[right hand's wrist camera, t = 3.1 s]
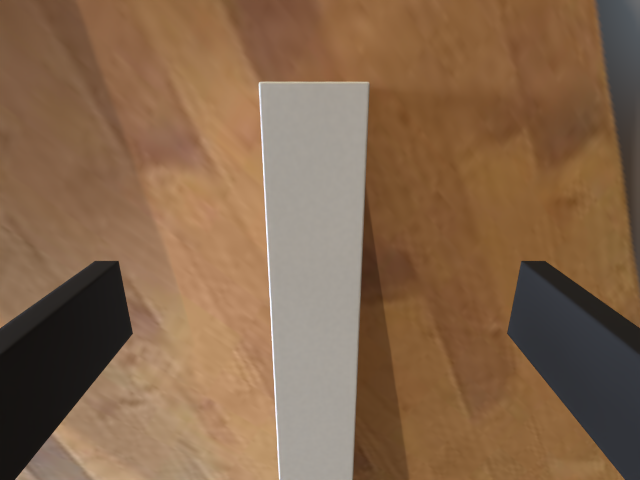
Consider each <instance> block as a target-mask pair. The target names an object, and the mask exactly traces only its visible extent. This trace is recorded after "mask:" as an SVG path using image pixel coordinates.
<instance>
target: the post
mask: <svg viewBox="0 0 640 480" xmlns="http://www.w3.org/2000/svg"><path fill="white" fill-rule="evenodd" d="M369 86H370V84H369V82H259V97H260V116H261V136H262V155H263V174H264V194H265V213H266V232H267V252H268V271H269V290H270V309H271V329H272V348H273V367H274V387H275V406H276V425H277V445H278V464H279V480H353V466H354V443H355V419H356V395H357V371H358V347H359V324H360V300H361V276H362V252H363V228H364V205H365V181H366V157H367V133H368V109H369Z"/></svg>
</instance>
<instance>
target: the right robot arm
mask: <svg viewBox="0 0 640 480" xmlns="http://www.w3.org/2000/svg"><path fill="white" fill-rule="evenodd" d="M132 334H133V332H132V327H131V322H130V317H129V312H128V307H127V302H126V297H125V292H124V287H123V281H122V276H121V271H120V266H119V261H94V262H93V263H92V264H90V265H89V266H87V267H86V268H85V269H83V270H82V271H80V272H79V273H78V274H76V275H75V276H73V277H72V278H70V279H69V280H68V281H66V282H65V283H63V284H62V285H61V286H59V287H58V288H56V289H55V290H54V291H52V292H51V293H49V294H48V295H47V296H45V297H44V298H42V299H41V300H40V301H38V302H37V303H35V304H34V305H32V306H31V307H30V308H28V309H27V310H25V311H24V312H23V313H21V314H20V315H18V316H17V317H16V318H14V319H13V320H11V321H10V322H9V323H7V324H6V325H4V326H3V327H2V328H0V480H15V479H16V478H17V476H18V475H19V474H20V473H21V472H22V470H23V469H24V468H25V467H26V465H27V464H28V463H29V462H30V460H31V459H32V458H33V457H34V455H35V454H36V453H37V452H38V450H39V449H40V448H41V447H42V445H43V444H44V443H45V442H46V440H47V439H48V438H49V437H50V436H51V434H52V433H53V432H54V431H55V429H56V428H57V427H58V426H59V424H60V423H61V422H62V421H63V419H64V418H65V417H66V416H67V414H68V413H69V412H70V411H71V409H72V408H73V407H74V406H75V405H76V403H77V402H78V401H79V400H80V398H81V397H82V396H83V395H84V393H85V392H86V391H87V390H88V388H89V387H90V386H91V385H92V383H93V382H94V381H95V380H96V378H97V377H98V376H99V375H100V374H101V372H102V371H103V370H104V369H105V367H106V366H107V365H108V364H109V362H110V361H111V360H112V359H113V357H114V356H115V355H116V354H117V352H118V351H119V350H120V349H121V347H122V346H123V345H124V344H125V343H126V341H127V340H128V339H129V338H130V336H131V335H132ZM507 334H508V335H509V336H510V338H511V339H512V340H513V341H514V343H515V344H516V345H517V346H518V347H519V349H520V350H521V351H522V352H523V354H524V355H525V356H526V357H527V359H528V360H529V361H530V362H531V364H532V365H533V366H534V367H535V369H536V370H537V371H538V372H539V374H540V375H541V376H542V377H543V378H544V380H545V381H546V382H547V383H548V385H549V386H550V387H551V388H552V390H553V391H554V392H555V393H556V395H557V396H558V397H559V398H560V400H561V401H562V402H563V403H564V405H565V406H566V407H567V408H568V409H569V411H570V412H571V413H572V414H573V416H574V417H575V418H576V419H577V421H578V422H579V423H580V424H581V426H582V427H583V428H584V429H585V431H586V432H587V433H588V434H589V436H590V437H591V438H592V439H593V440H594V442H595V443H596V444H597V445H598V447H599V448H600V449H601V450H602V452H603V453H604V454H605V455H606V457H607V458H608V459H609V460H610V462H611V463H612V464H613V465H614V467H615V468H616V469H617V470H618V472H619V473H620V474H621V475H622V476H623V478H624V479H625V480H640V328H638V327H637V326H636V325H634V324H633V323H631V322H630V321H629V320H627V319H626V318H624V317H623V316H622V315H620V314H619V313H617V312H616V311H615V310H613V309H612V308H610V307H609V306H608V305H606V304H605V303H603V302H602V301H600V300H599V299H598V298H596V297H595V296H593V295H592V294H591V293H589V292H588V291H586V290H585V289H584V288H582V287H581V286H579V285H578V284H577V283H575V282H574V281H572V280H571V279H570V278H568V277H567V276H565V275H564V274H562V273H561V272H560V271H558V270H557V269H555V268H554V267H553V266H551V265H550V264H548V263H547V262H546V261H521V266H520V271H519V276H518V281H517V287H516V292H515V297H514V302H513V307H512V312H511V317H510V322H509V327H508V332H507Z"/></svg>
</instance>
